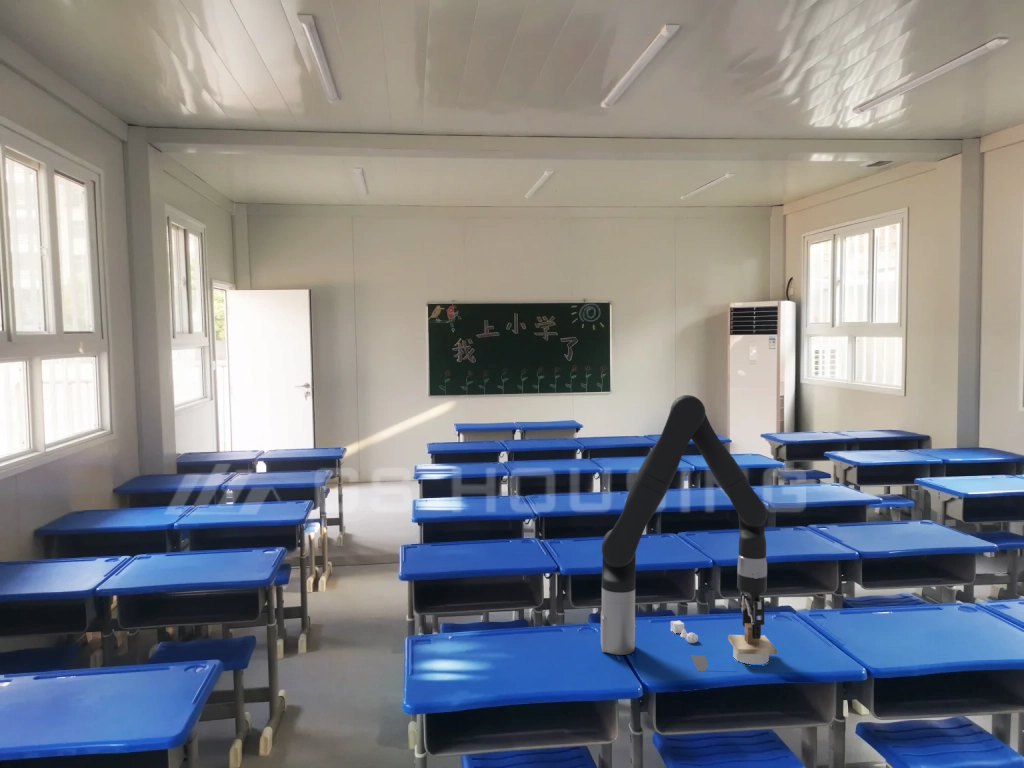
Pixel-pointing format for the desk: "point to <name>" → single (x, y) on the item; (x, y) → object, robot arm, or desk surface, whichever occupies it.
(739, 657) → the bowl
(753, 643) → the lid
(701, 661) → the mat
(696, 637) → the game pieces
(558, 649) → the desk surface
